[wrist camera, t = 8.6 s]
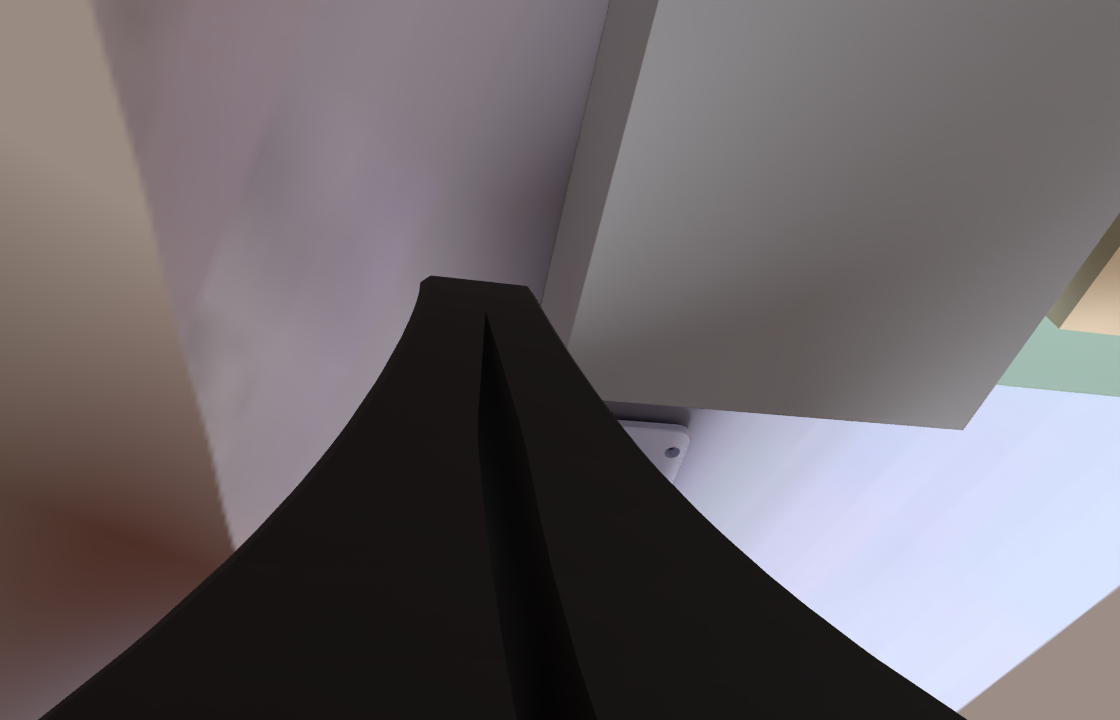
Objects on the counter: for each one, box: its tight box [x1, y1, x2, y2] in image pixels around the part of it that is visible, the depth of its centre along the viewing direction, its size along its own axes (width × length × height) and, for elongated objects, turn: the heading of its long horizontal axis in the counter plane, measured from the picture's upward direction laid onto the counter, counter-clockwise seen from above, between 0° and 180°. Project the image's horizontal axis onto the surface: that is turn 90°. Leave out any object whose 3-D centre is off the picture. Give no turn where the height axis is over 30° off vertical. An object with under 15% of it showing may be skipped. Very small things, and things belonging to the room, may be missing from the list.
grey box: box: [541, 0, 1120, 430], centre depth 18 cm, size 14×12×4 cm
